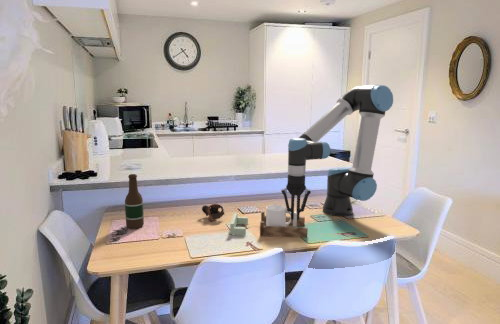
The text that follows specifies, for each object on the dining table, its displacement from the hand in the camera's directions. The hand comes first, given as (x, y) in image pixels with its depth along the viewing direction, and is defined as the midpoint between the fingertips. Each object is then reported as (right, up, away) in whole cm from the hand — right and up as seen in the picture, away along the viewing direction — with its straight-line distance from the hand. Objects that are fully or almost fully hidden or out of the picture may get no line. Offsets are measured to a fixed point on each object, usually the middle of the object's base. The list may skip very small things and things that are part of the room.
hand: (294, 226), depth 158 cm
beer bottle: (-72, -1, +4) cm, 72 cm away
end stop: (-25, -2, +2) cm, 25 cm away
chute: (-5, -2, +1) cm, 6 cm away
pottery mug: (-38, +1, +16) cm, 41 cm away
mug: (-7, -2, +1) cm, 7 cm away
